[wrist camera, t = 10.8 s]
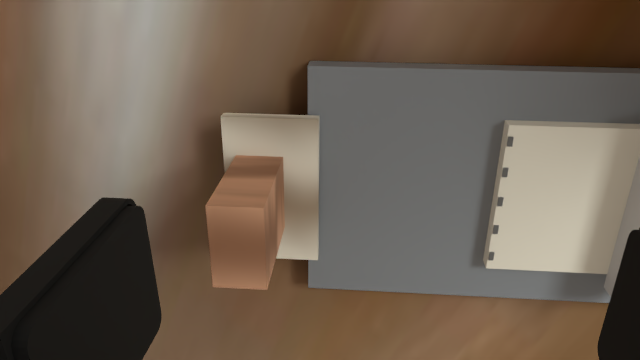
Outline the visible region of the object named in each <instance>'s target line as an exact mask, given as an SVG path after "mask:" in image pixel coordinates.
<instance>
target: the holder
mask: <svg viewBox="0 0 640 360" xmlns="http://www.w3.org/2000/svg"><path fill="white" fill-rule="evenodd" d="M308 115H317V116H319V255H318V260H308V288H327V289H346V290H366V291H385V292H405V293H424V294H444V295H463V296H483V297H502V298H521V299H541V300H560V301H580V302H599V303H609V302H610V299H611V295H612V292H613V288H614V285H615V281H616V278H617V274H618V271H619V267H620V264H621V260H622V257H623V253H624V250H625V246H626V243H627V239H628V236H629V234H630V232H631V231H632V230H639V228H640V68H609V67H565V66H520V65H475V64H431V63H386V62H341V61H310V62H309V64H308Z"/></svg>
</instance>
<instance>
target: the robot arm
mask: <svg viewBox="0 0 640 360" xmlns="http://www.w3.org/2000/svg"><path fill="white" fill-rule="evenodd" d="M160 323H161V308H160V302H159V296H158V290H157V284H156V278H155V272H154V267H153V261H152V255H151V249H150V243H149V237H148V231H147V225H146V219H145V214H144V210H143V208H142V207H140V206H136V204H135V202H134V201H133V200H132V199H124V198H101V199H100V200H99V201H98V202H96V203H95V204H94V205H93V206H92V207H91V208H90V209H89V210H88V211H87V212H86V213H85V214H84V215H83V216H82V217H81V218H80V219H79V220H78V221H77V222H76V223H75V224H74V225H73V226H72V227H71V228H70V229H68V230H67V231H66V232H65V233H64V234H63V235H62V236H61V237H60V238H59V239H58V240H57V241H56V242H55V243H54V244H53V245H52V246H51V247H50V248H49V249H48V250H47V251H46V252H45V253H44V254H43V255H41V256H40V257H39V258H38V259H37V260H36V261H35V262H34V263H33V264H32V265H31V266H30V267H29V268H28V269H27V270H26V271H25V272H24V273H23V274H22V275H21V276H20V277H19V278H18V279H17V280H16V281H15V282H13V283H12V284H11V285H10V286H9V287H8V288H7V289H6V290H5V291H4V292H3V293H2V294H1V295H0V360H142V359H143V357H144V355H145V353H146V352H147V350H148V348H149V346H150V344H151V343H152V341H153V339H154V337H155V336H156V334H157V332H158V330H159V327H160ZM598 356H599V360H640V228H639V230H632V231H631V232H630V234H629V236H628V239H627V243H626V246H625V250H624V253H623V257H622V260H621V264H620V267H619V271H618V274H617V278H616V281H615V285H614V288H613V292H612V295H611V299H610V302H609V306H608V309H607V313H606V316H605V320H604V323H603V327H602V330H601V334H600V337H599V341H598Z"/></svg>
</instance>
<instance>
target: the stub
mask: <svg viewBox="0 0 640 360" xmlns="http://www.w3.org/2000/svg"><path fill="white" fill-rule="evenodd" d="M221 130H222V144H223V157H224V171H225V174H224V176H223V177H222V179H221V181H220V182H219V184H218V186H217V187H216V189H215V191H214V192H213V194H212V196H211V197H210V199H209V201H208V202H207V204H206V206H205V207H206V217H207V228H208V239H209V250H210V261H211V271H212V282H213V287H221V288H240V289H260V290H267V289H268V285H269V282H270V278H271V274H272V271H273V267H274V264H275V260H276V258H279V259H300V260H318V255H319V116H317V115H283V114H249V113H223V114H222V115H221Z"/></svg>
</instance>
